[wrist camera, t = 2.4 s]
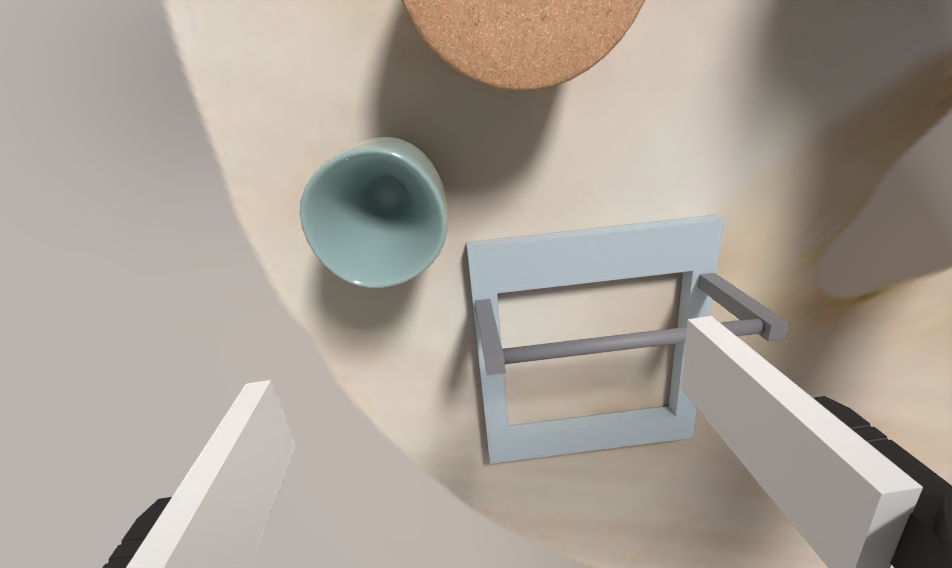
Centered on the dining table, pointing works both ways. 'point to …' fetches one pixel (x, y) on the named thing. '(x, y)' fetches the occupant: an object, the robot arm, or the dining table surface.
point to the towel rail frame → (602, 260)
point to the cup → (376, 213)
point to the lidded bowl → (522, 37)
